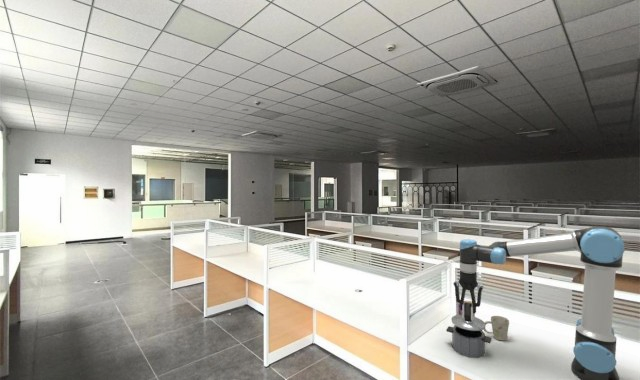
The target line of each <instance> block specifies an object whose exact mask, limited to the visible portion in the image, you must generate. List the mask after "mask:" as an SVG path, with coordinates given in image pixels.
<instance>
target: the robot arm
mask: <svg viewBox="0 0 640 380" xmlns="http://www.w3.org/2000/svg"><path fill="white" fill-rule="evenodd" d="M625 247H626V246H625V241H624V240H623V239H622V236H621V234H620V233H619V232H618V231H617V230H615V229H613V228H611V227H609V226H604V225H595V226H591V227H587V228H581V229H574V230H572V231H571V232H569V233H563V234H555V235H547V236H546V235H545V236H539V237H531V238H530V237H529V238H521V239H515V240H507V241H495V242H492V243H491V244H489V245H488V246H487V245H481V244H480V245H479V244H478V242H477V240H474V239H465V238H464V239H461V240H460V242H459V270H460V271H459V280H458V281H454V282H453V286H454V290H455V291H454V292H455V303H456V302H458V303H460V310H462V318H465V303H464V301H465V297H466V291H469V292H470V298H471V301H472V306H471V320H473V319H474V313H475V314H476V313H477V308H480V307H481V303H482V302H481V301H482V291H483V289H484V286H483V285H479V284H478V282H477V281H478V279H477V278H478V273H477V271H478V269H477V268H478V267H477V266H478V265H477V263H478V262H482V263H483V262H484V263H489V264H493V265H504V264H505V263H506V260H507V258H511V257H521V256H523V257H524V256H533V255H543V254H545V255H546V254H553V253H556V254H557V253H566V252H579V253H580V259H579V260H580V262H581V263H582V264H583V265H584V278H583V291H582V292H583V293H582V308H581V319H578V320H577V321H576V324H575V332H574V333H575V334H574V336H575V337H574V346H573V349H572V350H573V355H574V358H573V360H572V361H571V365H570V366H571V367H570V370H571V372H572V374H574V376H575V377H577V376H578V377H577V378H579V379H580V380H582V379H583V380H621V379H620V375H619V373H618V371H617V369H616V365H617V359H616V353H617V350H616V349H617V337H616V336H615V334H616V333H615V329H614V327H613V315H614V313H613V312H614V303H615V302H614V299H615V288H616V271H619V270H620V269H622V268H623V267H622V266H623V258H624V257H623V256H624V253H625V250H626V249H625ZM459 286H461V288H462V289H461V295H460V287H459ZM476 288H477V290H478V291H477V298H476V295H475V289H476ZM476 299H477V300H476Z"/></svg>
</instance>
